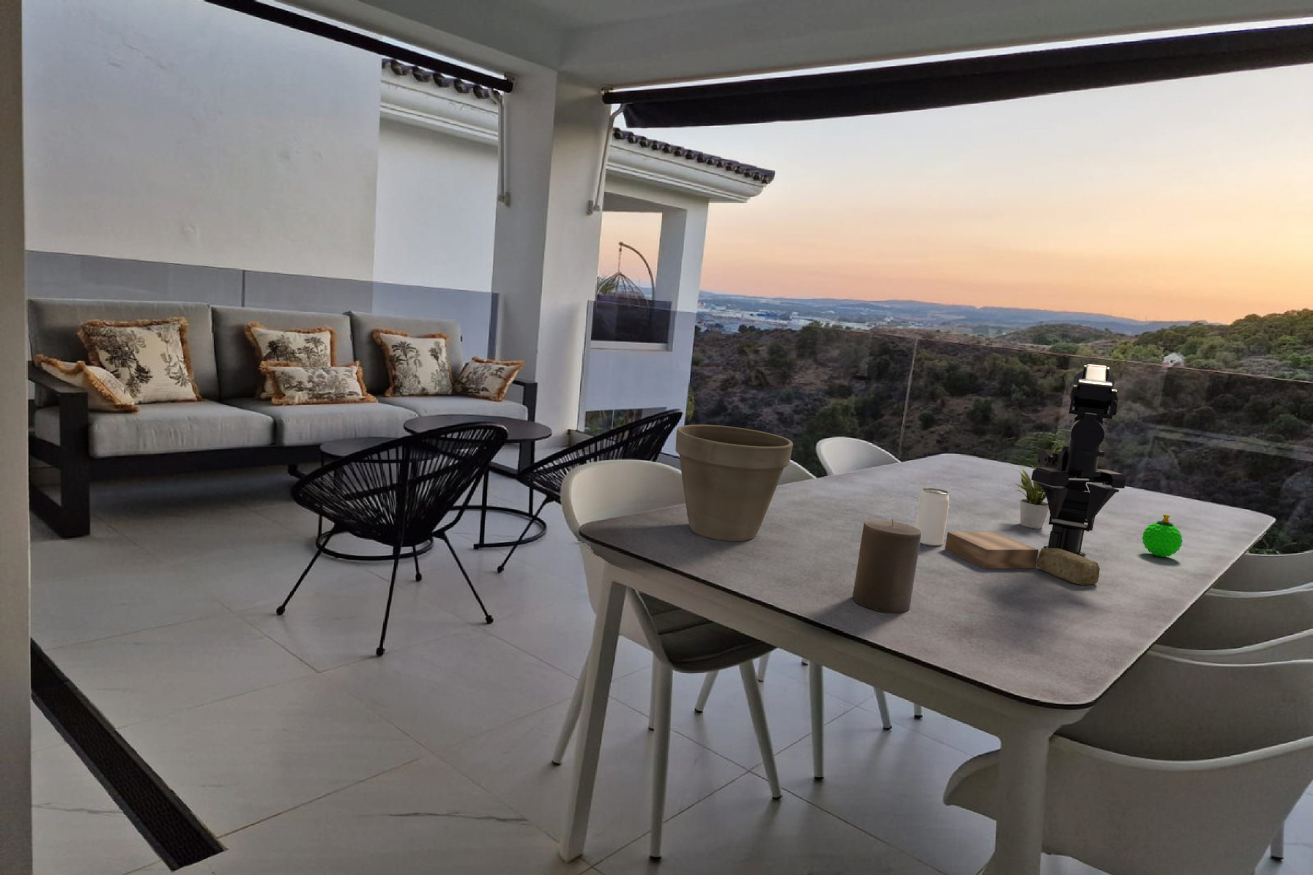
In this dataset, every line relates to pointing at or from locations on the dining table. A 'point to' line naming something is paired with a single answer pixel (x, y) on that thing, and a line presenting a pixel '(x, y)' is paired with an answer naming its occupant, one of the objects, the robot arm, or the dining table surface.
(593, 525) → the dining table surface
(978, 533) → the plinth
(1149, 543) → the ornament
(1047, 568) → the stone block
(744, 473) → the plant pot
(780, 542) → the dining table surface
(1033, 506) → the house plant
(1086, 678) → the dining table surface
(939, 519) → the can
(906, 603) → the pillar candle
